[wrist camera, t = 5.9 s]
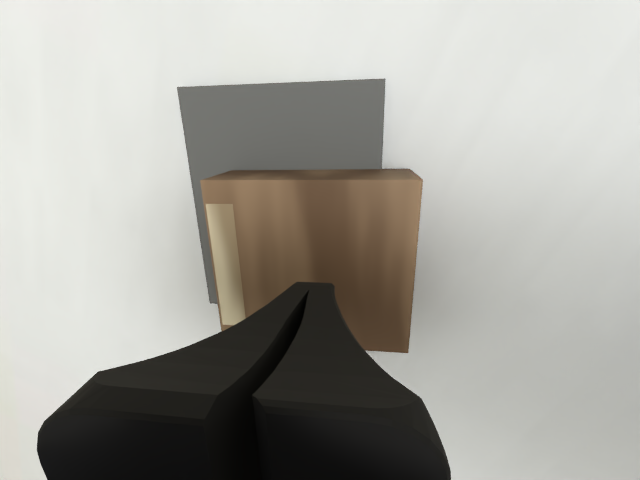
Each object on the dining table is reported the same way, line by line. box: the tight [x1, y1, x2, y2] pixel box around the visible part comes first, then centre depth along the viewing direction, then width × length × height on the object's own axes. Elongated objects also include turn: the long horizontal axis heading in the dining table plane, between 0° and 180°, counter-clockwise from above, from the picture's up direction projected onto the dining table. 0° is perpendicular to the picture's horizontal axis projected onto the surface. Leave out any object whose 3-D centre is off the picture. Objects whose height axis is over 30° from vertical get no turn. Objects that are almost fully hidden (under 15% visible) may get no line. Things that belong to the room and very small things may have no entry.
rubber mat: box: [177, 79, 385, 304], centre depth 17 cm, size 10×12×1 cm
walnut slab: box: [200, 169, 423, 353], centre depth 16 cm, size 4×8×9 cm
